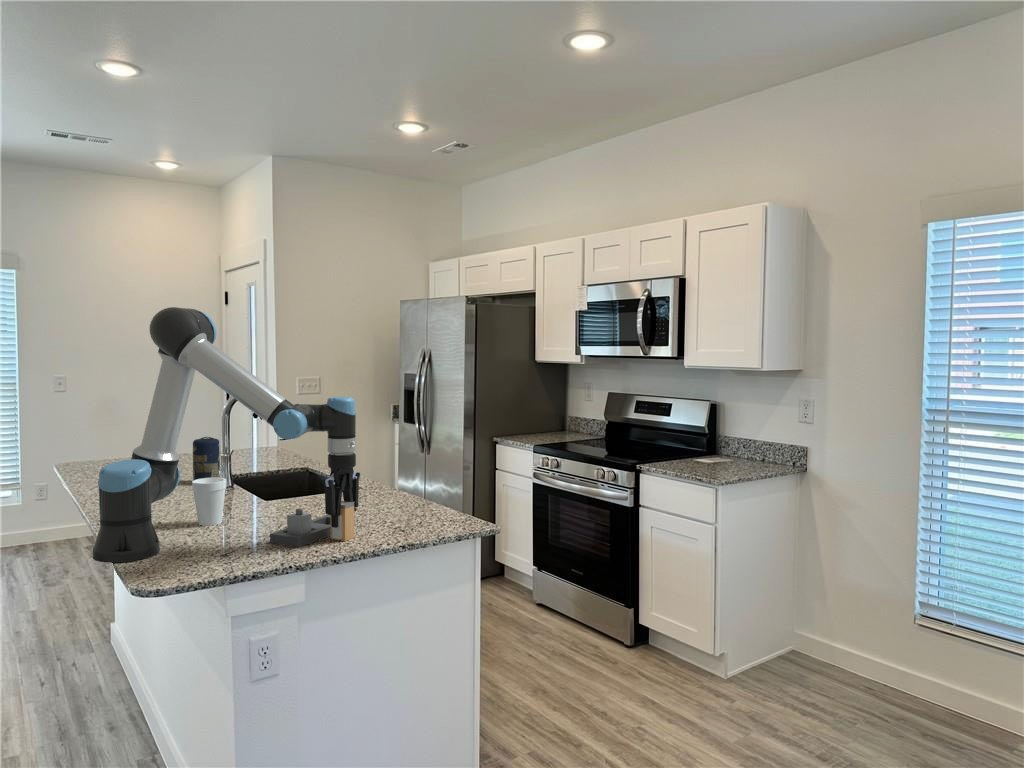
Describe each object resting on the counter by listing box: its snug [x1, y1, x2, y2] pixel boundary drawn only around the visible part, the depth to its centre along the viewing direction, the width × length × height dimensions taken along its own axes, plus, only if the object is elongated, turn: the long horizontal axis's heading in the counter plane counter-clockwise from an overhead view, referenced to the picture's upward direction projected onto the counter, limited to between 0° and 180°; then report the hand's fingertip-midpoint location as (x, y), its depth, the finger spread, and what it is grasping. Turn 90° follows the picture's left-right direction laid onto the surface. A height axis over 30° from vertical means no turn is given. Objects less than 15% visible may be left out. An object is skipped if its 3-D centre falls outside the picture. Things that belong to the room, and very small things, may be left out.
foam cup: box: [191, 477, 227, 527], centre depth 215 cm, size 10×9×13 cm
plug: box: [330, 500, 355, 542], centre depth 199 cm, size 4×5×10 cm
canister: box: [192, 436, 221, 481], centre depth 275 cm, size 10×10×18 cm
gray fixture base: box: [269, 508, 356, 548], centre depth 203 cm, size 24×10×8 cm, turn 155°
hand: (342, 536), depth 199 cm, fingers closed on plug, 4 cm apart
